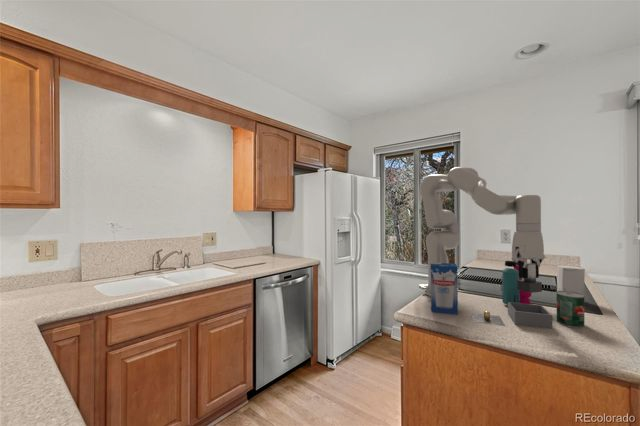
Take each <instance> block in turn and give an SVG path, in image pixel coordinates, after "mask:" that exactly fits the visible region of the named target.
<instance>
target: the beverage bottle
mask: <svg viewBox="0 0 640 426" xmlns="http://www.w3.org/2000/svg"><path fill="white" fill-rule="evenodd" d="M504 266H505V267H504V268H503V269H502V270H501V273H502V274H501V275H502V277H501V279H502V281H501V282H502V284H501V285H502V286H501V290H502V291H501V294H502V296H501V298H502V303H503V304H504V305H507V306H508V302H513V303H520V290H518V289H517V280H519V271H518V270H516V269H514V267H516V263H515V262H514V261H513V260H505V261H504Z"/></svg>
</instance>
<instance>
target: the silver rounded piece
mask: <svg viewBox="0 0 640 426" xmlns="http://www.w3.org/2000/svg"><path fill="white" fill-rule="evenodd" d="M526 268H528V278H527V279H525V278H522V280H517V289H518V290H522V291H525V292H529V293H531V294H532V293H542V291H543V287H542V281H539V280H537V278H536V264H534V263H530V262H527V265H526Z"/></svg>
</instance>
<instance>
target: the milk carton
mask: <svg viewBox="0 0 640 426" xmlns="http://www.w3.org/2000/svg"><path fill="white" fill-rule="evenodd" d="M458 284H459V283H458V265H457V263H431V296H430V309H431V310H430V311H431V313H437V314H438V313H439V314H445V315H446V314H448V315H458V314H459V313H458V312H459V311H458V310H459V308H458V307H459V305H458V304H459V303H458V302H459V301H458V299H459V298H458V297H459V296H458Z"/></svg>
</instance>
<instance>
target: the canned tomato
mask: <svg viewBox="0 0 640 426" xmlns="http://www.w3.org/2000/svg"><path fill="white" fill-rule="evenodd" d="M555 303H556V305H555V306H556V309H555V310H556V311H555V312H556V321H555V322H557V323H558V324H559V325H562V326H566V327H570V328H576V329H577V328H578V329H581V328H585V325H586V324H585V294H584V295H582V294H580V293H576V292H570V291H557V290H556V302H555Z"/></svg>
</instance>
